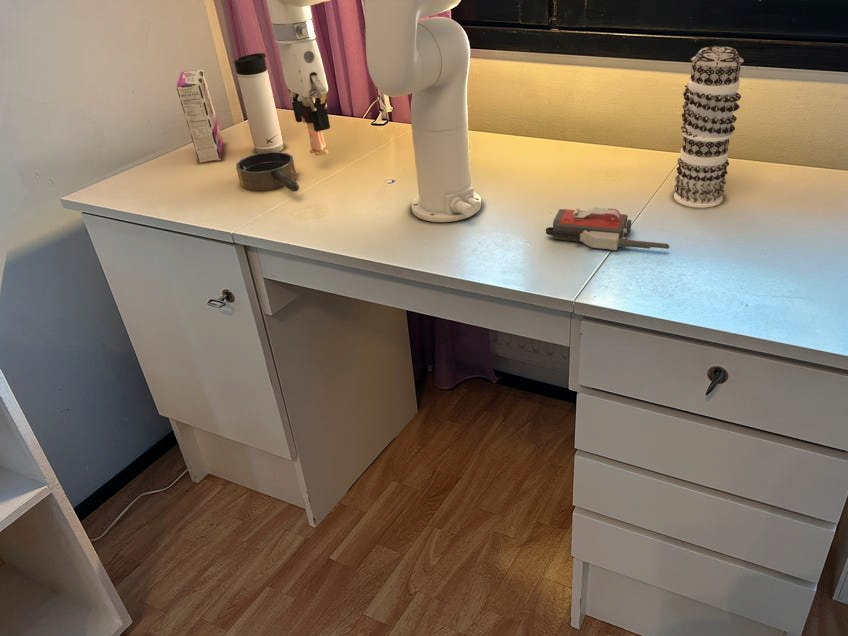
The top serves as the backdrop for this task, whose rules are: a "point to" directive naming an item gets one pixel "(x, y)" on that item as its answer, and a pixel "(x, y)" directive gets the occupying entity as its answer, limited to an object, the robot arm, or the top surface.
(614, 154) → the top surface
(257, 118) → the travel mug
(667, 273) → the top surface
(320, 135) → the grandmother figurine
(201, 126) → the candy bar box
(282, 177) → the pan handle
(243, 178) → the pan
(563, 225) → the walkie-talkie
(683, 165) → the white patterned cylinder
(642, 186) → the top surface
